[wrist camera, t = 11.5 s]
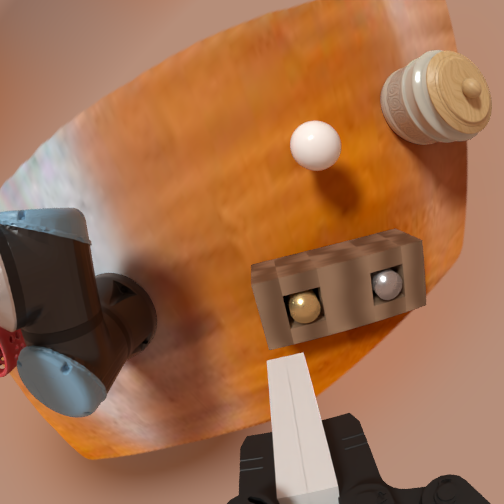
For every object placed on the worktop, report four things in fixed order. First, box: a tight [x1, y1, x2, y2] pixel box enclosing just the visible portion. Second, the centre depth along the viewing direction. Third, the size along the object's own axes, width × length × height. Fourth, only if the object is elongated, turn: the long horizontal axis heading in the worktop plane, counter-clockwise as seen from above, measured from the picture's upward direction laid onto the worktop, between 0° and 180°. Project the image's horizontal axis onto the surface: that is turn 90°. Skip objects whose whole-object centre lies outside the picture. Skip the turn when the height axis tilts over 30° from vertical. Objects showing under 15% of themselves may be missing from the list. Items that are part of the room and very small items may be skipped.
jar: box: [381, 50, 492, 145], centre depth 34 cm, size 13×13×18 cm
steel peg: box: [370, 267, 402, 300], centre depth 44 cm, size 4×4×8 cm
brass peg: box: [285, 288, 320, 323], centre depth 45 cm, size 4×4×8 cm
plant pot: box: [0, 327, 26, 377], centre depth 47 cm, size 13×13×12 cm
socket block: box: [251, 229, 426, 350], centre depth 45 cm, size 24×10×9 cm, turn 104°
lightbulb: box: [290, 121, 341, 171], centre depth 39 cm, size 6×6×11 cm
